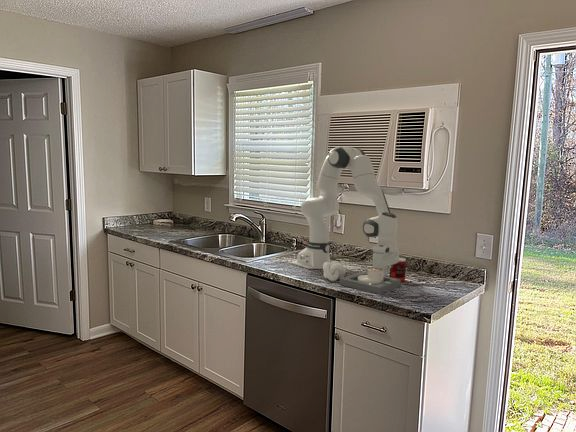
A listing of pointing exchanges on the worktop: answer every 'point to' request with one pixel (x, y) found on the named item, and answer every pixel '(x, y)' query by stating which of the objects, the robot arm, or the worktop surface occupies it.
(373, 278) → the dial
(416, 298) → the worktop surface
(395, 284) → the panel
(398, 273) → the canned food
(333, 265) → the white decorative knot
